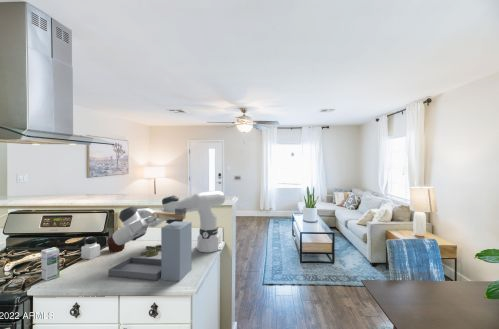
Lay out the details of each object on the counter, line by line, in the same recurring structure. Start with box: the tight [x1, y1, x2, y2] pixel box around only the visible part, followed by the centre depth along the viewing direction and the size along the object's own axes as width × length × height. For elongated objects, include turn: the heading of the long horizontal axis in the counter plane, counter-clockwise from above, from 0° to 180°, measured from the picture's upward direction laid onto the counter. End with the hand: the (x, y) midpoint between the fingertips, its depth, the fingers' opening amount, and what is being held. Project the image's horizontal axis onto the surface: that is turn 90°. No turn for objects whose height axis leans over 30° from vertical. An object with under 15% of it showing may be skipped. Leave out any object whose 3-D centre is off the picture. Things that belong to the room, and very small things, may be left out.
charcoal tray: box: [107, 256, 161, 282], centre depth 138 cm, size 18×27×4 cm, turn 79°
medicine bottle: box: [80, 236, 101, 260], centre depth 158 cm, size 7×7×12 cm
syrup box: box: [40, 246, 61, 282], centre depth 130 cm, size 6×6×14 cm
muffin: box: [106, 235, 126, 253], centre depth 170 cm, size 12×11×10 cm
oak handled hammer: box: [151, 207, 187, 220], centre depth 135 cm, size 5×18×6 cm, turn 79°
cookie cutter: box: [140, 244, 161, 258], centre depth 168 cm, size 18×12×2 cm, turn 7°
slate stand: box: [160, 221, 193, 282], centre depth 134 cm, size 14×10×26 cm
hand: (159, 214), depth 136 cm, fingers closed on oak handled hammer, 3 cm apart
